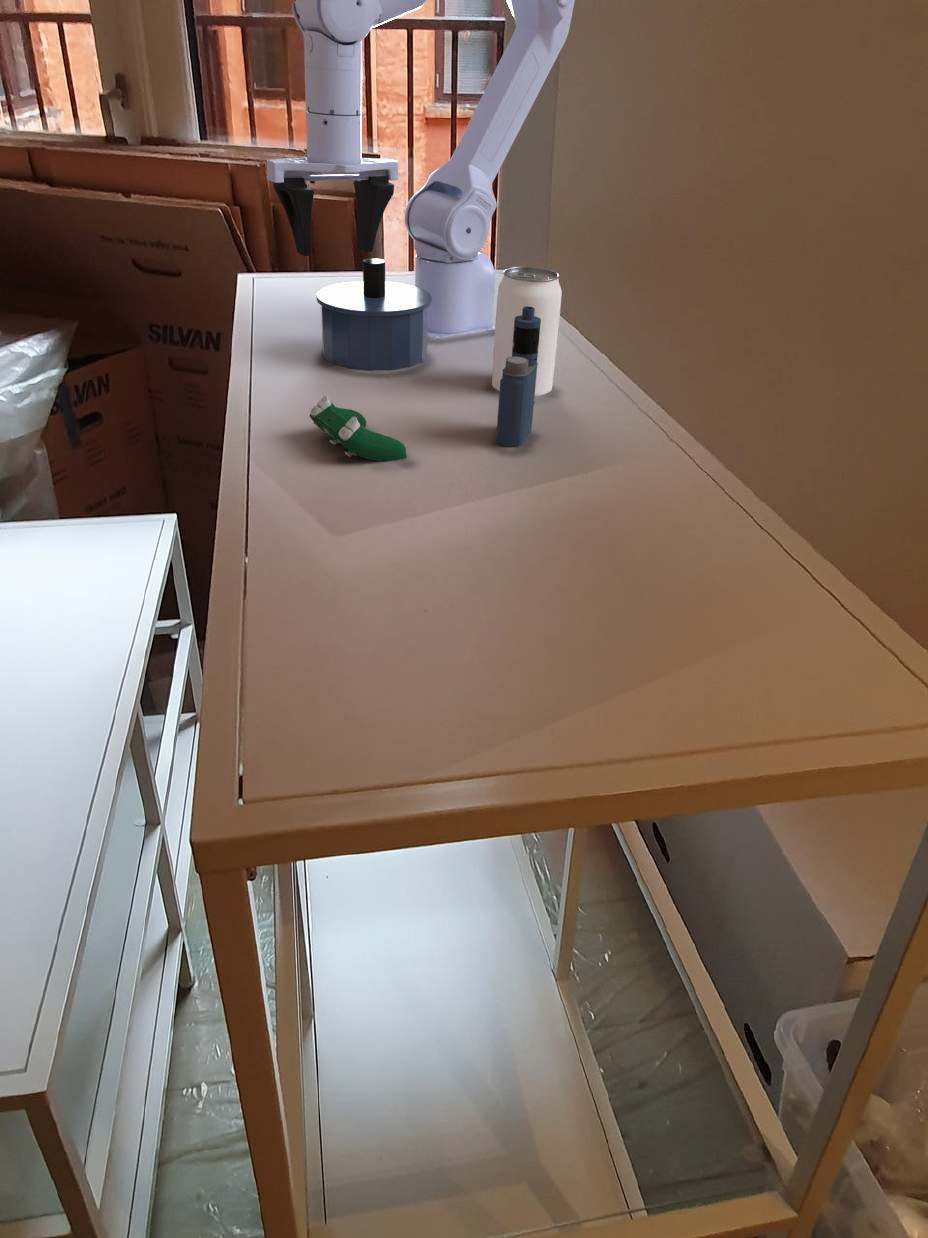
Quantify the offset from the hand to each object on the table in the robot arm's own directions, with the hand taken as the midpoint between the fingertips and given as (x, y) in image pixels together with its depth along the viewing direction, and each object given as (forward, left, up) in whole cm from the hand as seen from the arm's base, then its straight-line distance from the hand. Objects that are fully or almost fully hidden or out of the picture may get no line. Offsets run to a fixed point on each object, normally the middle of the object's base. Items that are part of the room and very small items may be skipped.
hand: (335, 252), depth 101 cm
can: (-11, +22, -11) cm, 27 cm away
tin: (-2, +6, -10) cm, 12 cm away
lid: (-2, +6, -4) cm, 7 cm away
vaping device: (-2, +33, -11) cm, 35 cm away
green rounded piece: (+12, +28, -11) cm, 32 cm away
